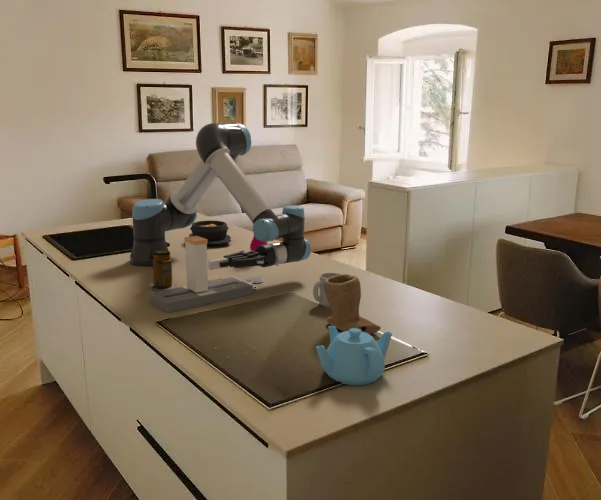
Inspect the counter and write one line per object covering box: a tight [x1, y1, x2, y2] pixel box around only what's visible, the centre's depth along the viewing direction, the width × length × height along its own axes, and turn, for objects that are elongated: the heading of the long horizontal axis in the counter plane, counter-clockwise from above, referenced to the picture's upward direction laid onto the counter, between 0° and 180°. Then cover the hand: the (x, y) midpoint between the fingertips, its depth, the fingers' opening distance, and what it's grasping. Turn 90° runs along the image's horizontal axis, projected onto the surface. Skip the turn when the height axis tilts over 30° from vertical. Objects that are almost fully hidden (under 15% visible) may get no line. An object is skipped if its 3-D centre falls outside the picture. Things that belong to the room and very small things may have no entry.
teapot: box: [315, 325, 393, 386], centre depth 135 cm, size 15×15×11 cm
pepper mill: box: [249, 223, 269, 252], centre depth 235 cm, size 7×7×20 cm
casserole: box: [188, 220, 232, 245], centre depth 263 cm, size 25×19×8 cm
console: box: [149, 276, 254, 313], centre depth 187 cm, size 30×12×3 cm, turn 129°
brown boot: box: [324, 273, 382, 335], centre depth 161 cm, size 15×12×15 cm
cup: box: [312, 272, 343, 308], centre depth 182 cm, size 7×10×9 cm
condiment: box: [150, 249, 176, 292], centre depth 197 cm, size 7×8×12 cm
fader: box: [184, 236, 209, 293], centre depth 184 cm, size 4×6×16 cm
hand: (209, 265), depth 186 cm, fingers closed
